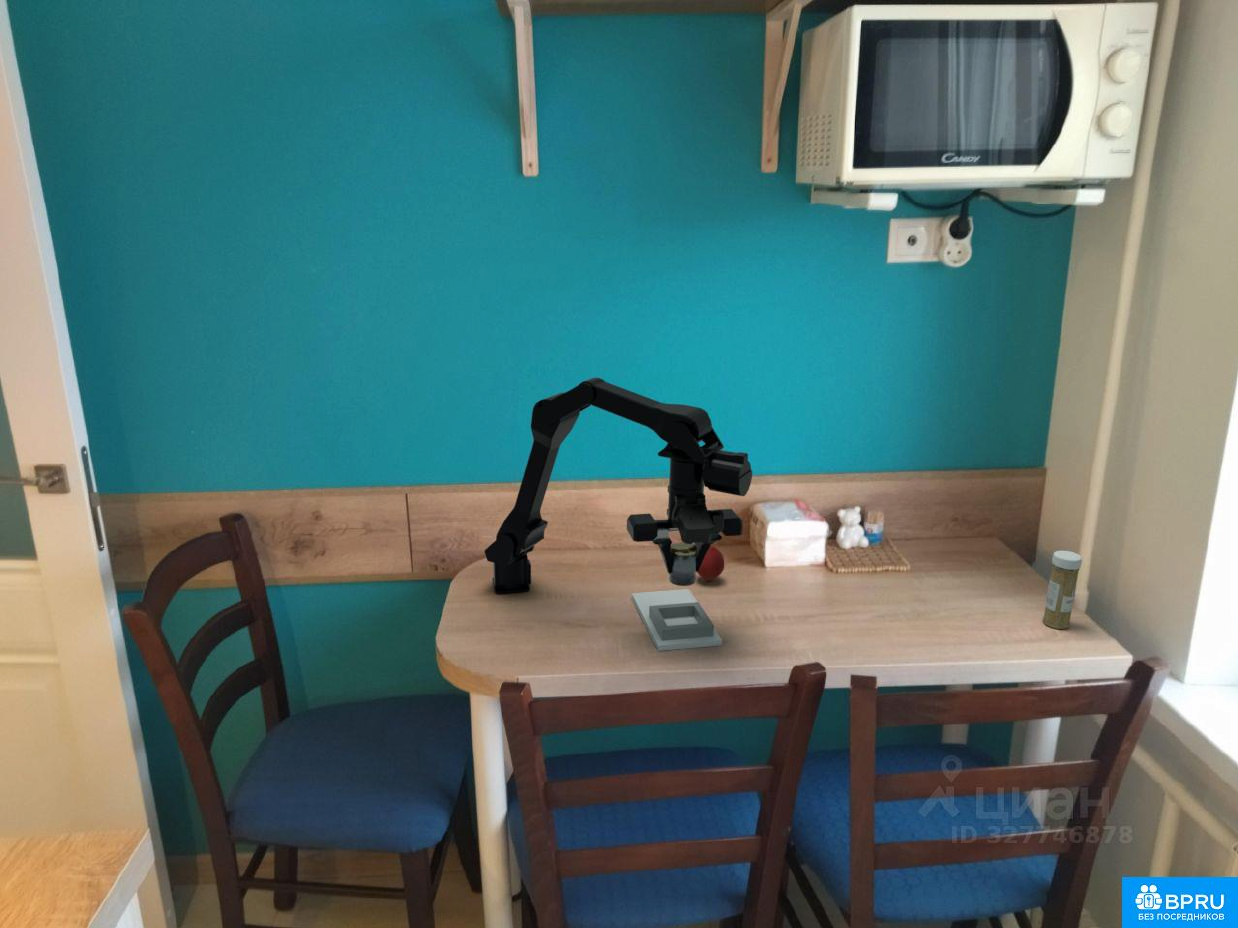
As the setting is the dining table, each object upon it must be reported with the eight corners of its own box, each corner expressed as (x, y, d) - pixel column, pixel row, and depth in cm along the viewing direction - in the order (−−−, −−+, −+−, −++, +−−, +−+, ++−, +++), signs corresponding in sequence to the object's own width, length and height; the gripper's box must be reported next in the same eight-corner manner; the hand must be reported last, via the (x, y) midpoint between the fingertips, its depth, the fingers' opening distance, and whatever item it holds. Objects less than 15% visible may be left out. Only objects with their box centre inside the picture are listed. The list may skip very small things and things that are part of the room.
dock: (658, 650, 153) (658, 634, 152) (631, 598, 172) (631, 583, 171) (721, 645, 155) (722, 629, 154) (688, 593, 174) (689, 579, 173)
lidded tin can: (673, 586, 154) (674, 553, 152) (666, 575, 158) (667, 543, 156) (698, 584, 155) (700, 551, 153) (691, 574, 159) (692, 541, 157)
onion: (706, 572, 183) (708, 534, 181) (729, 581, 180) (731, 543, 177) (687, 580, 180) (689, 542, 177) (710, 589, 176) (712, 551, 173)
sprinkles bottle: (1071, 631, 162) (1084, 561, 158) (1043, 627, 163) (1055, 557, 159) (1067, 620, 166) (1080, 551, 162) (1040, 616, 168) (1052, 548, 164)
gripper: (642, 504, 142) (639, 596, 147) (757, 498, 146) (751, 588, 151) (627, 481, 152) (624, 568, 157) (734, 476, 156) (729, 561, 161)
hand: (682, 571), depth 156 cm, fingers closed on lidded tin can, 4 cm apart
